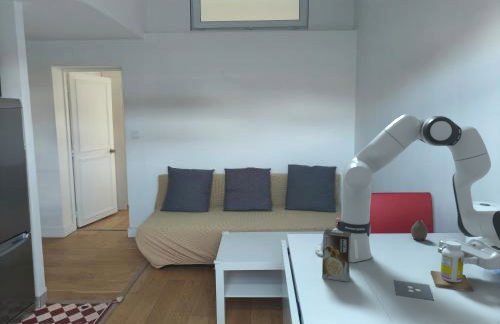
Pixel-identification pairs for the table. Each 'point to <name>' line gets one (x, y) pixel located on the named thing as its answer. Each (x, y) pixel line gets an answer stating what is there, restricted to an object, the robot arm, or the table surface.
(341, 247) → the coffee box
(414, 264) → the table surface
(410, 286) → the slate mat
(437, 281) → the walnut board
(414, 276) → the table surface
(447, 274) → the supplement bottle
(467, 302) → the table surface
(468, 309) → the table surface
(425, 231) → the vase
